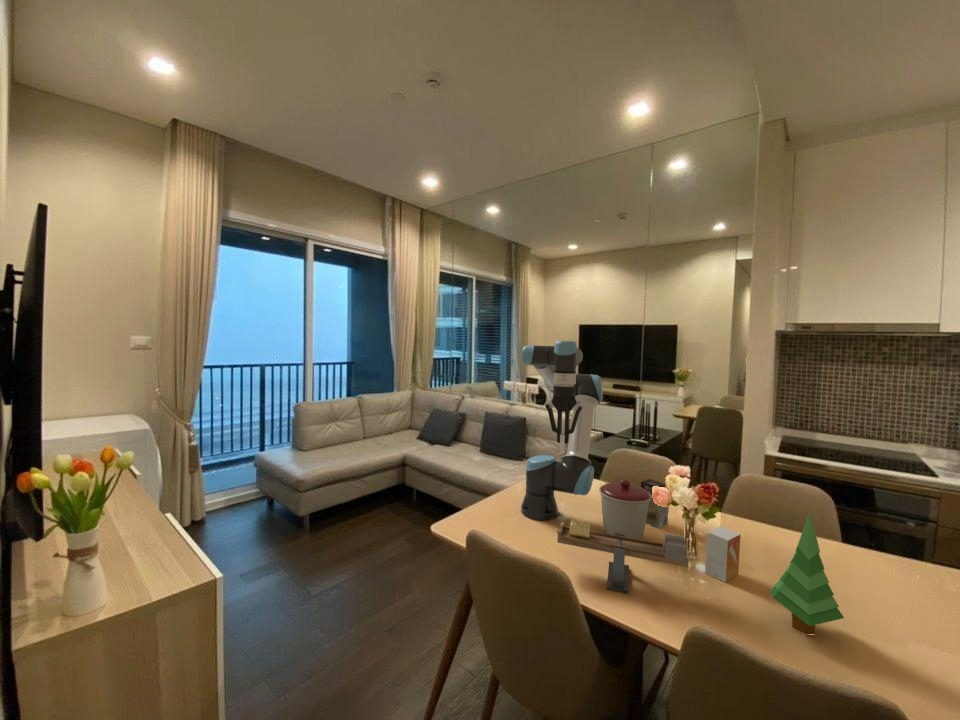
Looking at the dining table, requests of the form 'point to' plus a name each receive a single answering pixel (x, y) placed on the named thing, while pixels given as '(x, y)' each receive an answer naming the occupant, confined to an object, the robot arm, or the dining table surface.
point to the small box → (722, 553)
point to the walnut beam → (632, 546)
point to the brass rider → (580, 529)
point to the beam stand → (618, 571)
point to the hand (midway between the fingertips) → (562, 452)
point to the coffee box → (655, 507)
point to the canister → (624, 508)
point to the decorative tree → (807, 586)
